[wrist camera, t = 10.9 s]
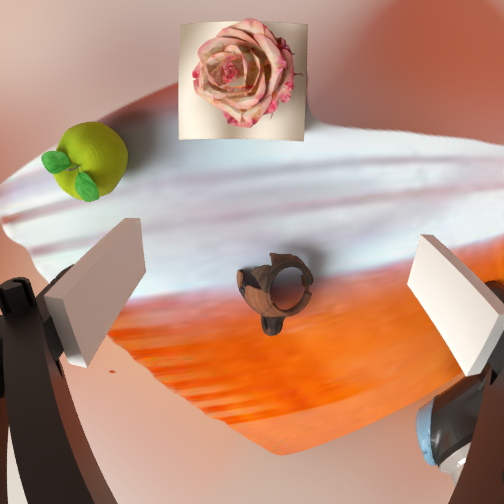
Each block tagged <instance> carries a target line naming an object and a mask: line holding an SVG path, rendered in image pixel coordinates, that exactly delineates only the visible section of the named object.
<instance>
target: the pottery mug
mask: <svg viewBox="0 0 504 504" xmlns="http://www.w3.org/2000/svg"><path fill="white" fill-rule="evenodd" d="M270 256H271V261H272V266H269V265H262V266H260V267H255V268H254V269H253V270H252V272H251V274H252V275H254V276H255V277H256V280H257V281H258V283H259V285H260V287H261V289H258V288H255V287H253V286H251V285H248V286H246V287H245V289H244V288H243V276H244V273H242V272H241V270H238V272H237V284H238V287H239V291H240V293H241V294H242V296H243V298H244V299H245V301H246V302H247V303H248V305H249V306H250V307H251V308H252V309H253V310H255V311H256V312H257V313H261V324H262V329H263V332H264V333H265V334H267V335H269V336H274V335H277V334H278V333H279V332H280V331H281V329H282V326H283V320H284V319H285V318H286V317H288V316H292V315H295V314H297V313H299V312H300V311H301V310H302V309H304V307H305V306H306V305H307V304H308V302H309V300H310V298H311V296H312V294H311V293H310V292H308V290H309V286H310V285H312V283H313V276H312V274H311V272H310V270H309V269H308V267H307V266H306V265H305V264H304V262H303V261H302V260H301V259H299V258H298V257H297V256H293V255H291V254H276V253H270ZM288 267H296V268H298V269H299V270H301V271H302V273H303V274H304V275H302V277H301V278H302V285H303V287H305V291H304V294H303V296H302V298H301V300H300V301H299V302H298V304H297V305H295V306H294V307H293V308H290V309H288V310H281V309H279V308H278V307H277V306H276V304H275V303H273V302H272V299H271V293H270V289H271V285H272V282H273V280H274V278H275V277H276V275H277V274H278V273H279V272H280V271H281V270H283V269H285V268H288Z"/></svg>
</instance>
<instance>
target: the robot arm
mask: <svg viewBox="0 0 504 504" xmlns="http://www.w3.org/2000/svg"><path fill="white" fill-rule="evenodd" d="M145 273H146V268H145V260H144V252H143V243H142V234H141V223H140V218H125V219H124V220H122V221H121V222H120V223H119V224H118V225H117V226H116V227H114V228H113V229H112V230H111V231H110V232H109V233H108V234H107V235H106V236H104V237H103V238H102V239H101V240H100V241H99V242H98V243H97V244H96V245H95V246H94V247H92V248H91V249H90V250H89V251H88V252H87V253H86V254H85V255H84V256H83V257H82V258H81V259H80V260H79V261H78V262H77V263H76V264H73V265H71V266H69V267H68V268H66V269H64V270H63V271H61V272H60V273H59V274H58V275H57V276H56V279H55V278H54V279H53V280H52V281H51V282H50V284H48V285H47V286H46V287H45V288H44V289H43V290H42V291H41V292H40V293H39V294H38V296H37V297H36V298H35V296H34V293H33V290H32V287H31V283H30V281H29V279H27V278H25V277H17V278H13V279H10V280H7V281H6V282H4V283H2V284H1V285H0V309H1V311H2V314H3V315H0V504H8V497H7V442H8V428H9V427H10V433H11V438H12V444H13V449H14V454H15V458H16V463H17V467H18V471H19V475H20V479H21V482H22V486H23V489H24V493H25V496H26V499H27V502H28V504H118V503H117V502H116V500H115V498H114V496H113V494H112V492H111V490H110V488H109V487H108V485H107V483H106V481H105V479H104V477H103V474H102V472H101V470H100V468H99V466H98V464H97V462H96V459H95V457H94V455H93V453H92V450H91V448H90V446H89V443H88V441H87V438H86V436H85V433H84V431H83V428H82V426H81V423H80V420H79V418H78V415H77V412H76V409H75V406H74V403H73V400H72V397H71V395H70V391H69V388H68V385H67V382H66V378H65V375H64V371H63V367H62V364H61V362H60V360H59V357H60V356H61V354H62V353H63V351H64V353H65V355H66V357H67V360H68V362H69V364H74V365H77V366H82V367H86V368H87V367H88V365H89V364H90V362H91V360H92V359H93V357H94V355H95V353H96V351H97V350H98V348H99V346H100V345H101V343H102V341H103V340H104V338H105V336H106V335H107V333H108V331H109V330H110V328H111V326H112V325H113V323H114V321H115V320H116V318H117V317H118V315H119V313H120V312H121V310H122V308H123V307H124V305H125V304H126V302H127V300H128V299H129V297H130V296H131V294H132V293H133V291H134V289H135V288H136V286H137V285H138V283H139V282H140V280H141V279H142V277H143V276H144V274H145ZM407 285H408V286H409V288H410V289H411V290H412V292H413V293H414V295H415V296H416V298H417V299H418V300H419V302H420V303H421V305H422V306H423V308H424V309H425V311H426V312H427V314H428V315H429V317H430V318H431V320H432V321H433V323H434V324H435V326H436V328H437V329H438V331H439V332H440V334H441V335H442V337H443V339H444V340H445V342H446V343H447V345H448V347H449V348H450V350H451V352H452V353H453V355H454V357H455V358H456V360H457V362H458V363H459V365H460V367H461V369H462V370H463V372H464V374H465V375H466V376H465V377H464V378H463V379H461V380H460V381H458V382H457V383H455V384H454V385H452V386H451V387H450V388H448V389H447V390H445V391H444V392H442V393H441V394H439V395H437V396H435V397H434V398H433V399H432V400H431V401H429V402H428V403H427V404H425V405H424V406H422V407H421V408H420V409H419V411H418V413H417V416H416V432H417V437H418V441H419V445H420V448H421V450H422V451H423V456H424V458H425V460H426V462H427V463H428V464H429V465H431V466H434V465H438V468H439V470H440V471H442V472H445V473H449V474H450V475H451V476H452V480H453V483H454V486H455V489H454V492H453V494H452V496H451V499H450V501H449V503H448V504H504V286H503V285H502V284H501V283H499V282H496V281H491V282H487V283H483V282H482V281H481V280H480V279H479V278H478V277H477V276H476V275H475V274H474V273H473V272H472V271H471V270H470V269H469V268H468V267H467V266H466V265H465V264H464V263H463V262H462V261H461V260H460V259H459V258H458V257H456V256H455V255H454V254H453V253H452V252H451V251H450V250H449V249H448V248H447V247H446V246H444V245H443V244H442V243H441V242H440V241H439V240H438V239H437V238H435V237H434V236H433V235H424V234H420V238H419V242H418V246H417V250H416V254H415V258H414V262H413V265H412V269H411V272H410V276H409V279H408V283H407Z"/></svg>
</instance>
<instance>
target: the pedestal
mask: <svg viewBox="0 0 504 504" xmlns="http://www.w3.org/2000/svg"><path fill="white" fill-rule="evenodd" d="M239 22H241V21H228V22H206V23H191V24H181V25H180V48H179V140H182V139H267V140H289V141H304V126H305V104H306V76H307V25H306V24H295V23H281V22H261V23H262V24H264V25H265V26H266V25H267V28H268V29H269V30H270V31H272V32H273V34H274V36H275V37H276V38H280V37H282V38H284V39H285V40H286V44H287V45H289V47H290V50H291V52H292V53H295V54H294V55H292V59H293V66H294V73H296V74H297V73H302V74H303V76H304V77H303V76H302V75H296V76H294V79H293V83H294V88H293V90H292V91H288V92H290V93H291V98H290V100H289V101H288V102H287V103H282V102H281V100H280V99H279V100H278V101H279V104H278V107H277V110H276V111H275V112H273V116H272V118H271V113H269V114H265V115H263V116H262V117H261V118H260V119H259V121H258V122H257V123H256V124H255V125H253V126H252V127H251V128H245V127H238V126H233V125H231V124H228V123H227V119H225V117H224V115H223V111H222V110H219V109H218V108H216V107H215V106H213V105H212V104H210V103H209V102H207V101H206V100H205V99H203V98H202V97H200V96H199V95H197V94H196V92H195V89H194V85H193V80H196V79H195V78H193V77H192V72H193V70H194V69H195V67H196V66H197V64H198V63H199V61H200V60H199V57H198V55H197V52H198V49H199V48H200V47H201V46H202V45H203V44H204V43H205V42H206V41H208V40H210V39H213V38H215V37H216V36H217V34H218V33H219V32H220V31H221V30H222V29H223V28H226V27H228V26H231V25H234V24H237V23H239ZM198 94H199V93H198ZM203 97H204V96H203ZM270 118H271V119H270Z"/></svg>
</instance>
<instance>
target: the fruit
mask: <svg viewBox="0 0 504 504" xmlns="http://www.w3.org/2000/svg"><path fill="white" fill-rule="evenodd" d="M42 162H43V165H44V166H45V168H46V169H47V170H48V171H49V172H50V173H52V174H53V175H54V177H55V179H56V181H57V183H58V184H59V186H60V187H61V189H62V190H63V191H65V192H66V193H68V194H69V195H71V196H72V197H74V198H76V199H79V200H85V201H86V202H91V201H94V200H98V199H99V197H101V196H104V195H107V194H109V193H110V192H112V191H113V190H114V189H115V187H116V186H117V184H118V183H119V181H120V179H121V178H122V176H123V174H124V172H125V170H126V167H127V162H128V151H127V148H126V145H125V143H124V141H123V140H122V139H121V137H120V136H119V135H118V134H117V133H116V132H115V131H114V130H112V129H111V128H110V127H108V126H107V125H105V124H103V123H100V122H86V123H81V124H78V125H75V126H73V127H71V128H69V129H68V130H67V131H66V132H65V133H64V135H63V136H62V138H61V140H60V142H59V144H58V147H57V149H56V151H49V152H46V153H44V154H43V155H42Z"/></svg>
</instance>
